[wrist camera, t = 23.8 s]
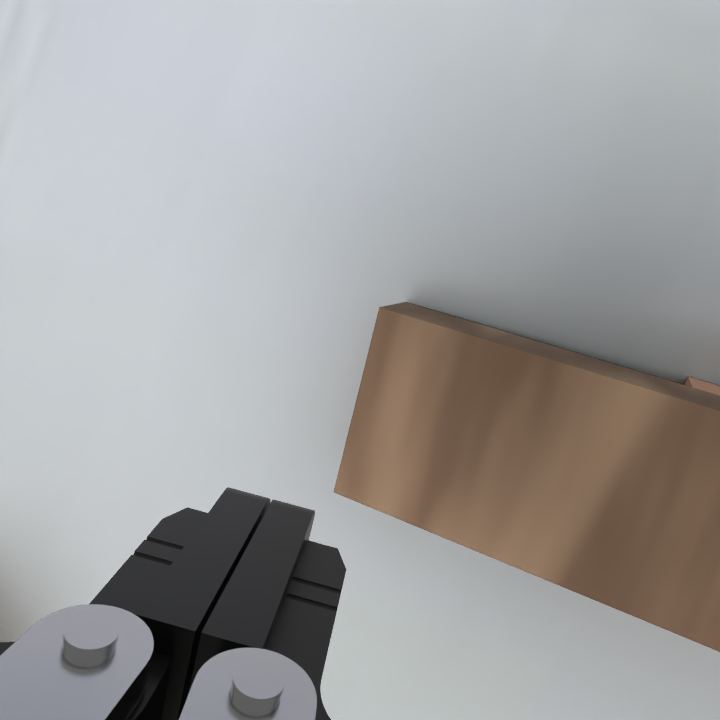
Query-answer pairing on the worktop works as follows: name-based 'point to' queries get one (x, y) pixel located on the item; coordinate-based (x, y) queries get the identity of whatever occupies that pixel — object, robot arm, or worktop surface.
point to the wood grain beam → (544, 463)
